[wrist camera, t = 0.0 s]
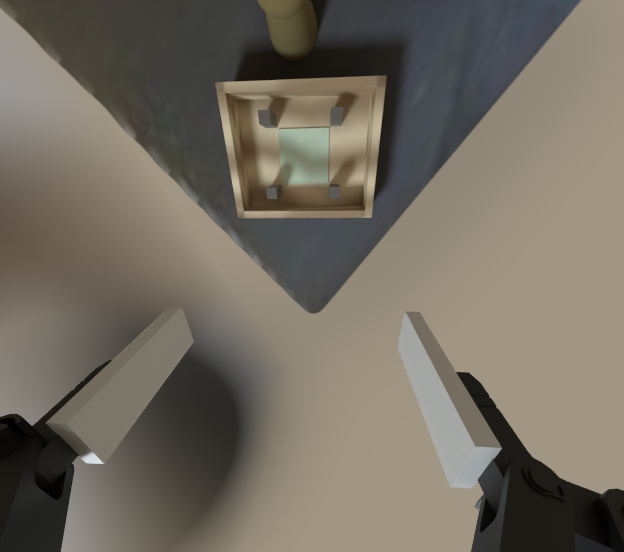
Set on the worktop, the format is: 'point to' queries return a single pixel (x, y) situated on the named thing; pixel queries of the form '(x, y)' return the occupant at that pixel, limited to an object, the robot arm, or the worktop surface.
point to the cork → (291, 27)
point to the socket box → (303, 145)
